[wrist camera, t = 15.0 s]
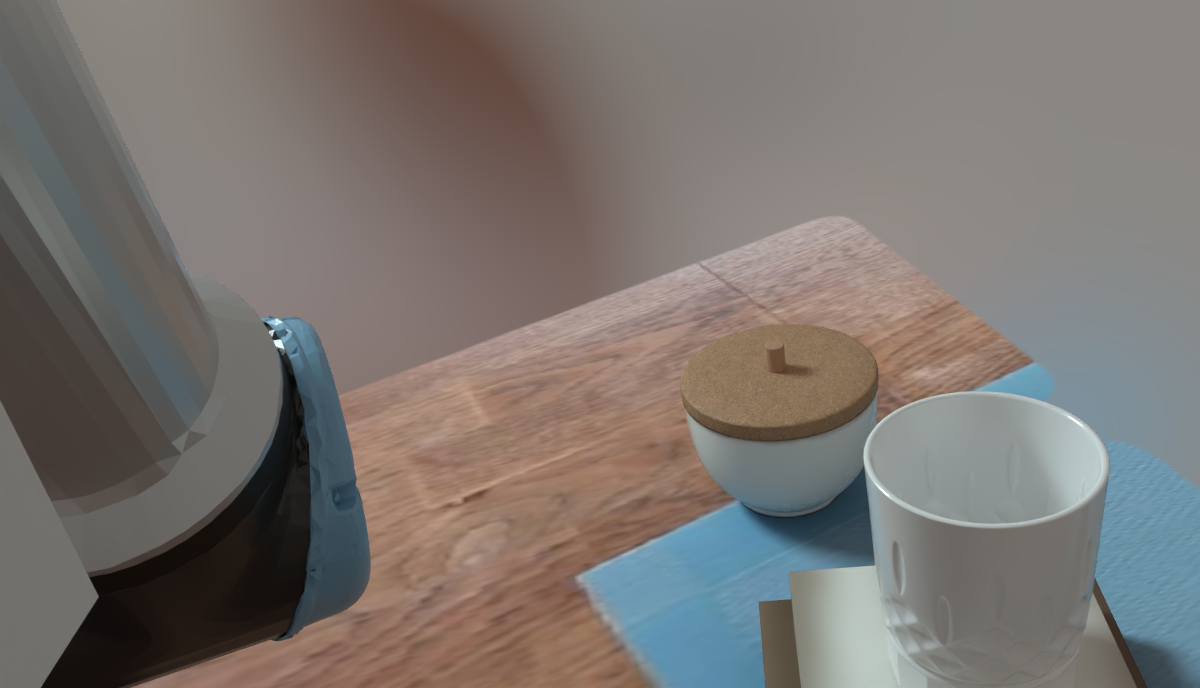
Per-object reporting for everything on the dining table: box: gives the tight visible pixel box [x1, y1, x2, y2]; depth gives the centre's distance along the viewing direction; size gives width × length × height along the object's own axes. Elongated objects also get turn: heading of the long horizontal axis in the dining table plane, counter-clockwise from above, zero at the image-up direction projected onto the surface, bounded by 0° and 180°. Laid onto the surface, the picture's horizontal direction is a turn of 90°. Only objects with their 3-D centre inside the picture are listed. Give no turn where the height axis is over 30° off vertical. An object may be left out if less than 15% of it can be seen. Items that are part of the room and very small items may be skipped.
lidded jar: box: [680, 324, 878, 517], centre depth 61 cm, size 11×11×9 cm
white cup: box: [863, 391, 1110, 688], centre depth 40 cm, size 8×8×10 cm
